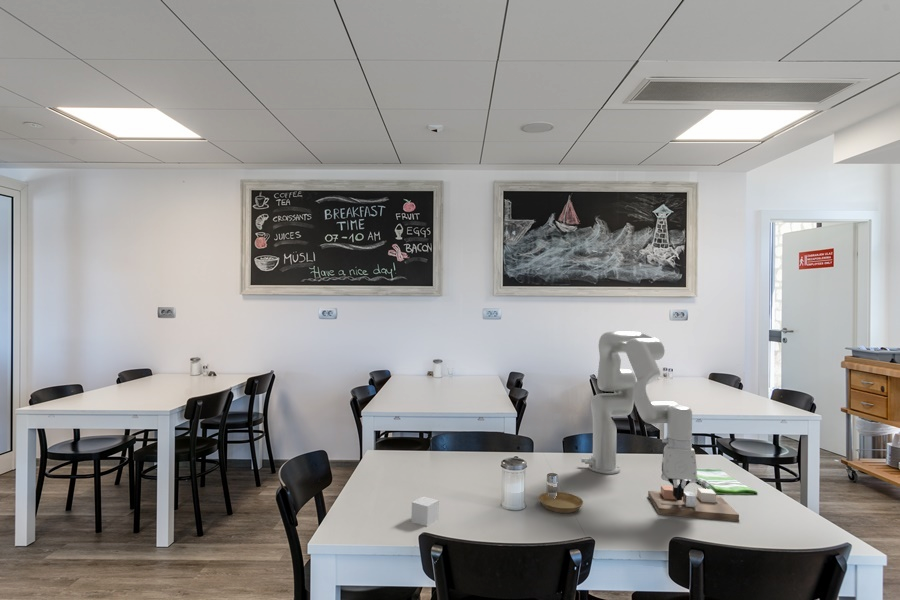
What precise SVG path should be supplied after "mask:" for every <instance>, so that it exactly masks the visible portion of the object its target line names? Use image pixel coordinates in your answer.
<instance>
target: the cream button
mask: <svg viewBox="0 0 900 600" xmlns="http://www.w3.org/2000/svg"><path fill="white" fill-rule="evenodd" d="M696 495H697V497H698V498H699V499H700V501H701V502H712V503H716V496H717V494H716V493H715V492H714V491H713V490H712V489H705V488H704V487H702V488H700V487H699V488H698V487H697V488H696Z"/></svg>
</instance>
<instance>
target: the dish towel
mask: <svg viewBox="0 0 900 600" xmlns="http://www.w3.org/2000/svg"><path fill="white" fill-rule="evenodd" d="M697 482H698V483H699V484H698V483H697ZM695 483H697V484H698V485H700V484H701V485H702V486H703V487H702V486H701V485H700V486H701V487H702V488H704V487H705V488H707V489H712V490H713V491H714V492H715V493H716V495H750V494H752V495H753V494H754V495H757V496H758V495H759V494H758V491H756V490H754V489H752V488H751V487H750V486H747V485H745V484H744V483H742V482H740V481H739V480H737V479H735V478H734V477H731V476H730V475H729V474H727V473H726V472H725V471H723V470H722V469H721V468H720V469H719V468H699V467H697V478H696V482H695ZM705 488H704V489H705Z"/></svg>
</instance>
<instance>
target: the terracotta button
mask: <svg viewBox="0 0 900 600" xmlns="http://www.w3.org/2000/svg"><path fill="white" fill-rule="evenodd" d="M660 492H661V495H662V496H663V498H664V499H675V500H676V498H675V496H673V485H664V484H663V485H660Z"/></svg>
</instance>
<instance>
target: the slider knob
mask: <svg viewBox="0 0 900 600" xmlns="http://www.w3.org/2000/svg"><path fill="white" fill-rule="evenodd" d="M696 495H697V494H695V493H694V492H693V491H688V490H687V491H685V490H684V497H683V503H684V504H685V506H686V507H696Z"/></svg>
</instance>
